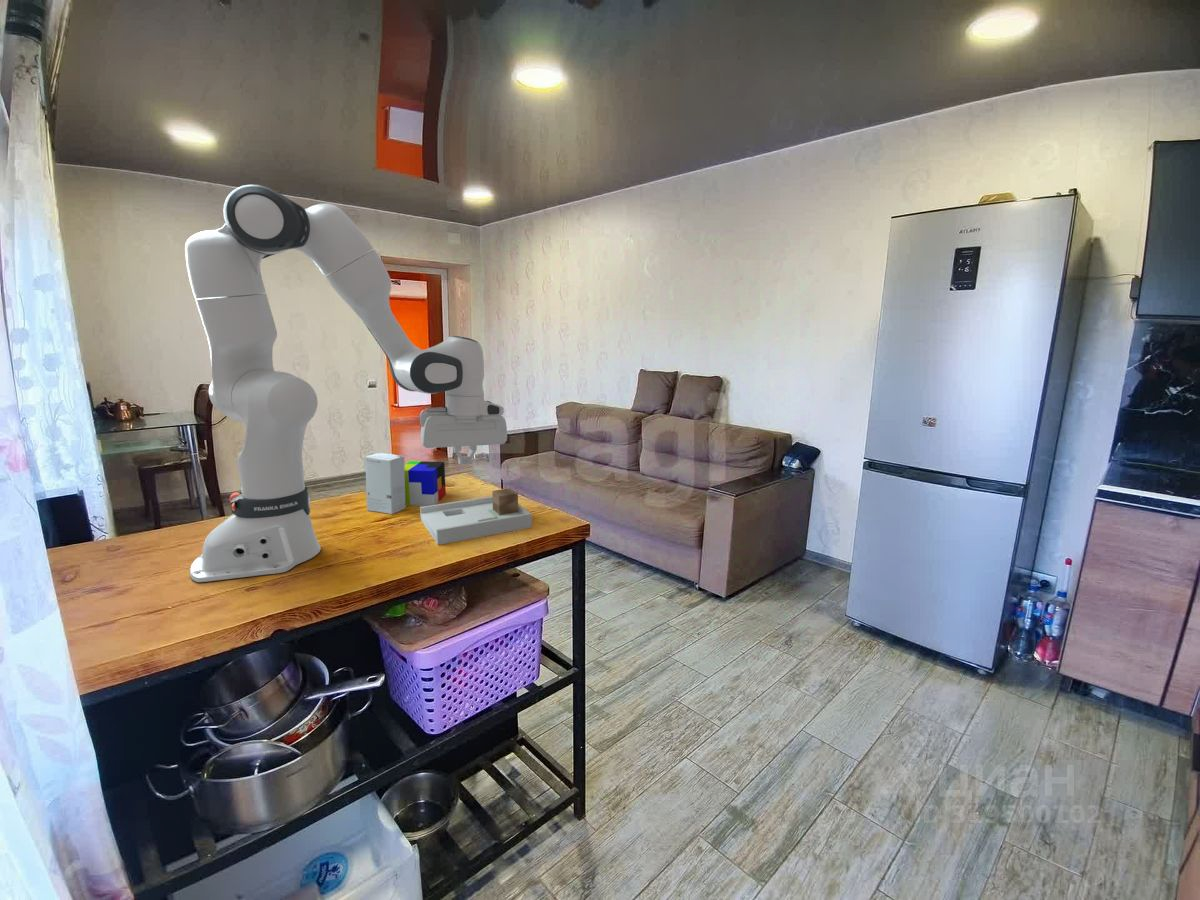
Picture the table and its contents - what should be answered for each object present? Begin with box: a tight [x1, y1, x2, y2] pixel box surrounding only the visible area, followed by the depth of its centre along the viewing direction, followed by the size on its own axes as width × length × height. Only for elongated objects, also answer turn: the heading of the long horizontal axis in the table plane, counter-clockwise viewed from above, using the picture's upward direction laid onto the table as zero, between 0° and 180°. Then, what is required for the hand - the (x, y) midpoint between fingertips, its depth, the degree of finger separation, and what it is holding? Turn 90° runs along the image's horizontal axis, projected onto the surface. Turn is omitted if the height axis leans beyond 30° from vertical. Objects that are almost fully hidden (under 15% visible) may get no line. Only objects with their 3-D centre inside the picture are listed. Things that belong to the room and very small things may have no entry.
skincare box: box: [364, 452, 406, 515], centre depth 136 cm, size 8×6×15 cm
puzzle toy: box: [404, 460, 447, 507], centre depth 145 cm, size 10×10×10 cm
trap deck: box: [419, 496, 533, 545], centre depth 129 cm, size 23×18×4 cm
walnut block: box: [491, 487, 519, 515], centre depth 132 cm, size 5×5×5 cm
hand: (465, 463), depth 124 cm, fingers closed
